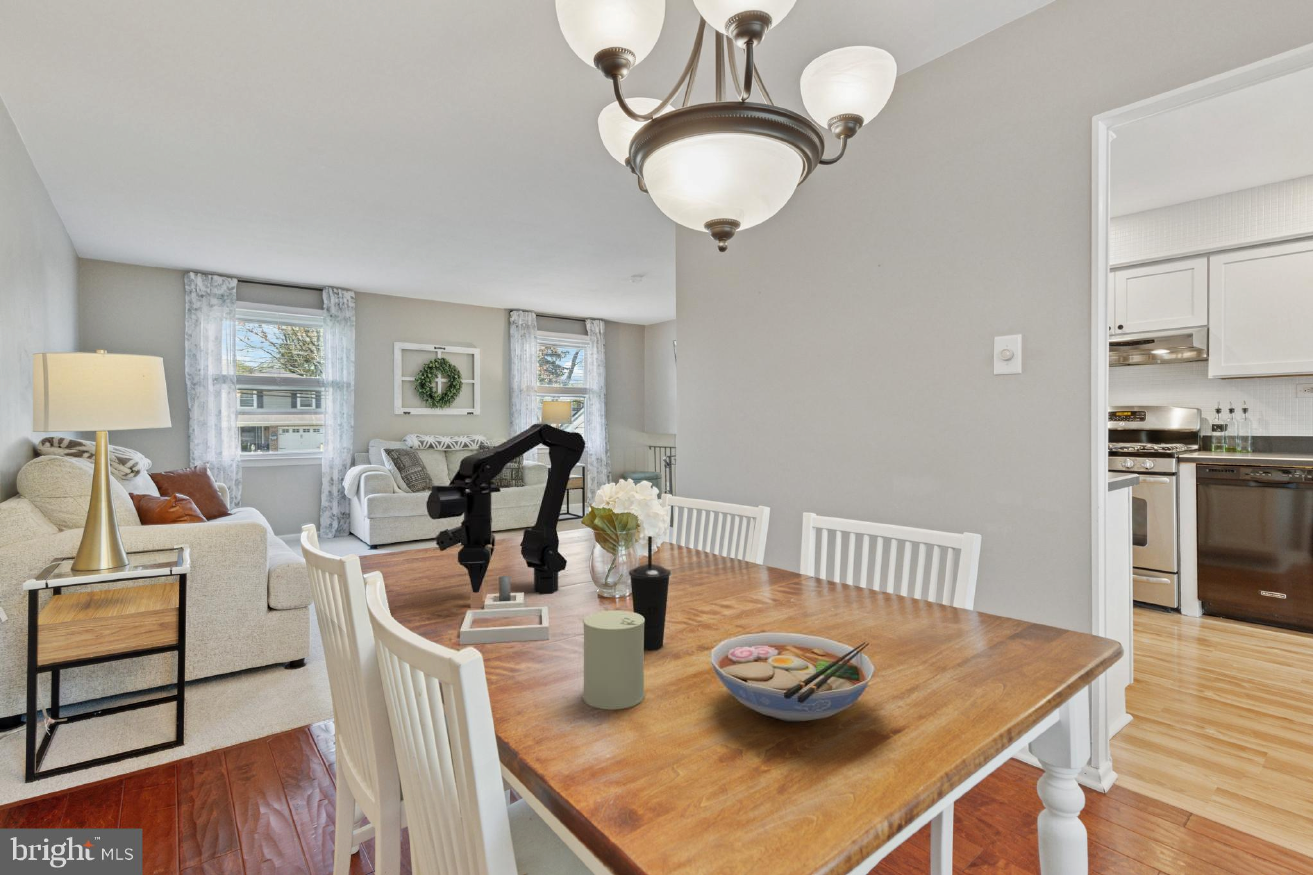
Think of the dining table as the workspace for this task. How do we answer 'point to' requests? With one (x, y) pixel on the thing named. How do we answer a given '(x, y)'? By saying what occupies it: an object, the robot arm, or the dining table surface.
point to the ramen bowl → (792, 674)
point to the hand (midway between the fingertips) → (477, 586)
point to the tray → (504, 632)
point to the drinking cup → (651, 599)
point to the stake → (505, 590)
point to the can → (613, 659)
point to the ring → (495, 600)
